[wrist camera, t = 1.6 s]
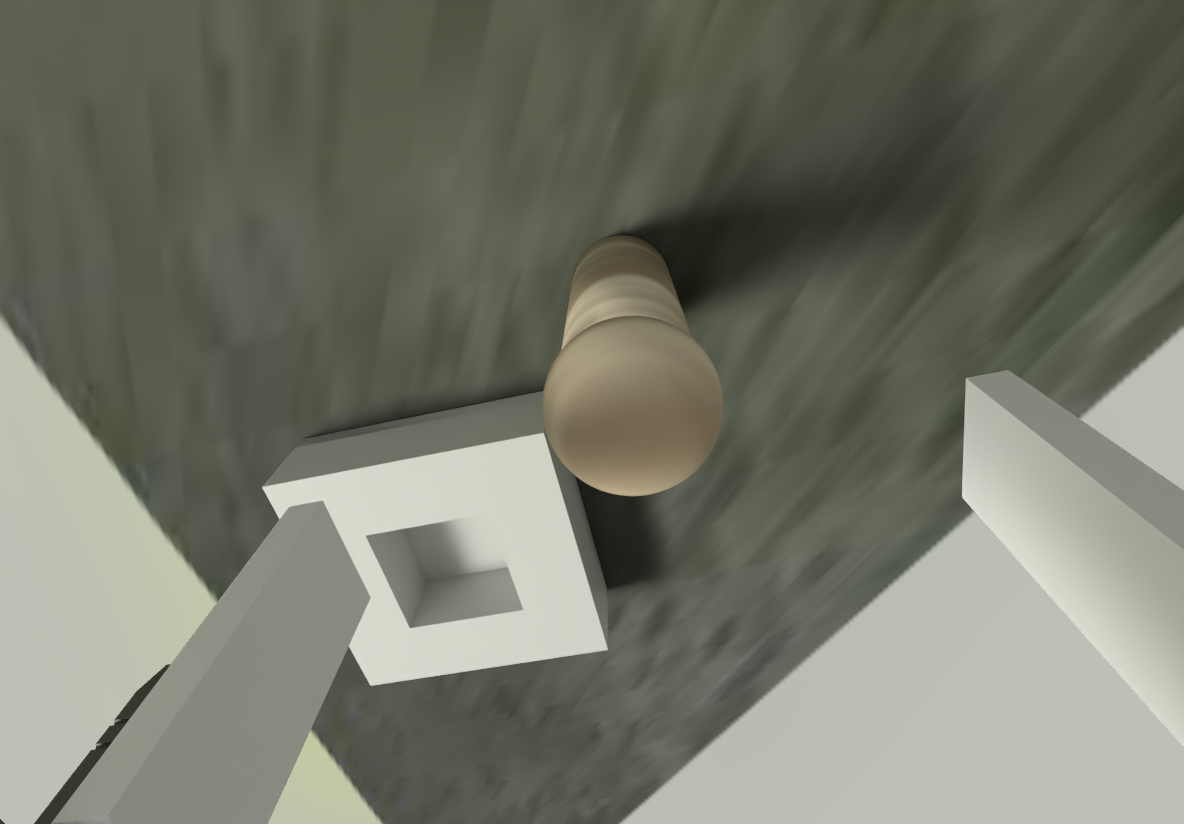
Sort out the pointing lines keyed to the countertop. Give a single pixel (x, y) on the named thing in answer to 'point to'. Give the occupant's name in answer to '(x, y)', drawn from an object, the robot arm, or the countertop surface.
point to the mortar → (456, 539)
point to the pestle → (629, 376)
